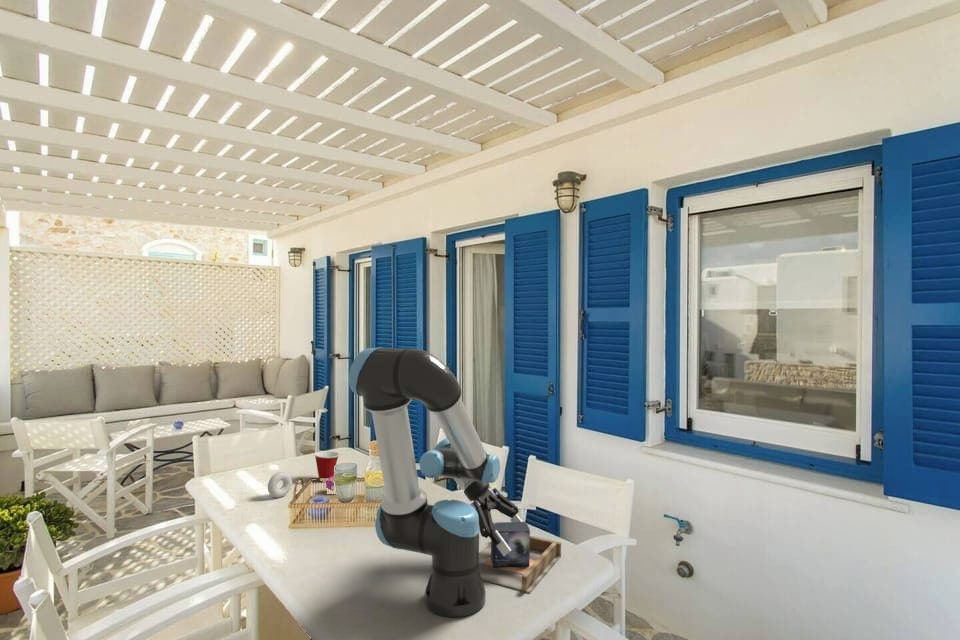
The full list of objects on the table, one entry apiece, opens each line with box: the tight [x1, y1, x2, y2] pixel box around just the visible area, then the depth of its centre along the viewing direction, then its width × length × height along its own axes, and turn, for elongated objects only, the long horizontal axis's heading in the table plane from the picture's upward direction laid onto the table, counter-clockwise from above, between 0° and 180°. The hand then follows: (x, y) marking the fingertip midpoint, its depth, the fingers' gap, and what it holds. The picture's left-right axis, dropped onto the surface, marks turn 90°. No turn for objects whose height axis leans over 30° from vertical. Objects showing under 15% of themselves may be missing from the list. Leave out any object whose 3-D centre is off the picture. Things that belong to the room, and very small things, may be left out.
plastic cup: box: [313, 450, 340, 479], centre depth 221 cm, size 11×11×12 cm
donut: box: [267, 471, 293, 499], centre depth 199 cm, size 10×4×10 cm, turn 143°
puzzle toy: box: [325, 476, 335, 491], centre depth 205 cm, size 6×6×6 cm
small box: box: [490, 521, 531, 567], centre depth 144 cm, size 11×6×10 cm, turn 96°
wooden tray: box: [479, 535, 562, 594], centre depth 144 cm, size 24×22×4 cm
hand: (518, 544), depth 143 cm, fingers open, 13 cm apart
